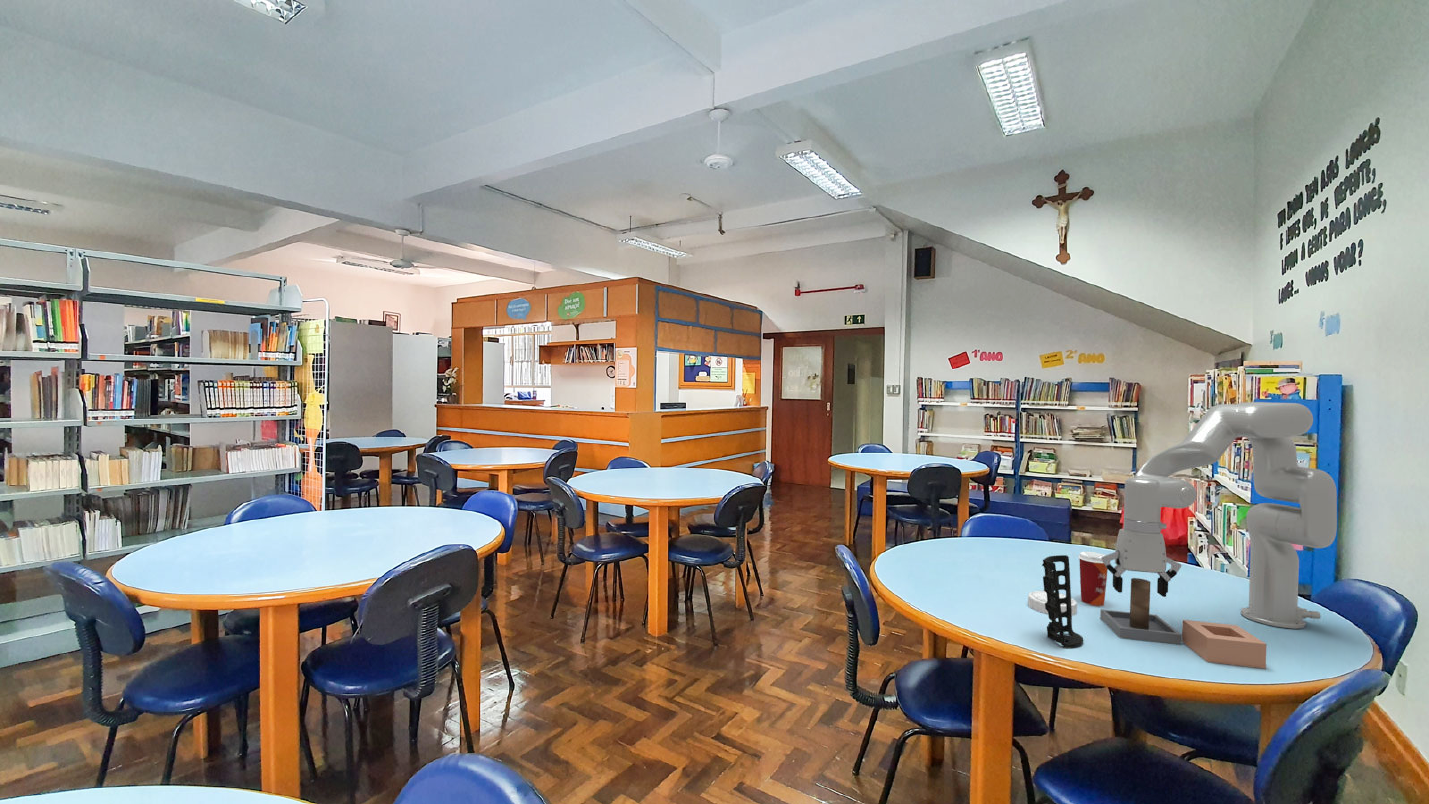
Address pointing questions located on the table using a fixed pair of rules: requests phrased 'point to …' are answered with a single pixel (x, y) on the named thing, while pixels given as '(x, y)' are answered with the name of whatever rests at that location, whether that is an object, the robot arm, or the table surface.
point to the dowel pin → (1139, 603)
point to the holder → (1059, 602)
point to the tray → (1156, 632)
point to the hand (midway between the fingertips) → (1139, 593)
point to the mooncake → (1040, 598)
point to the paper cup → (1092, 578)
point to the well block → (1224, 644)
